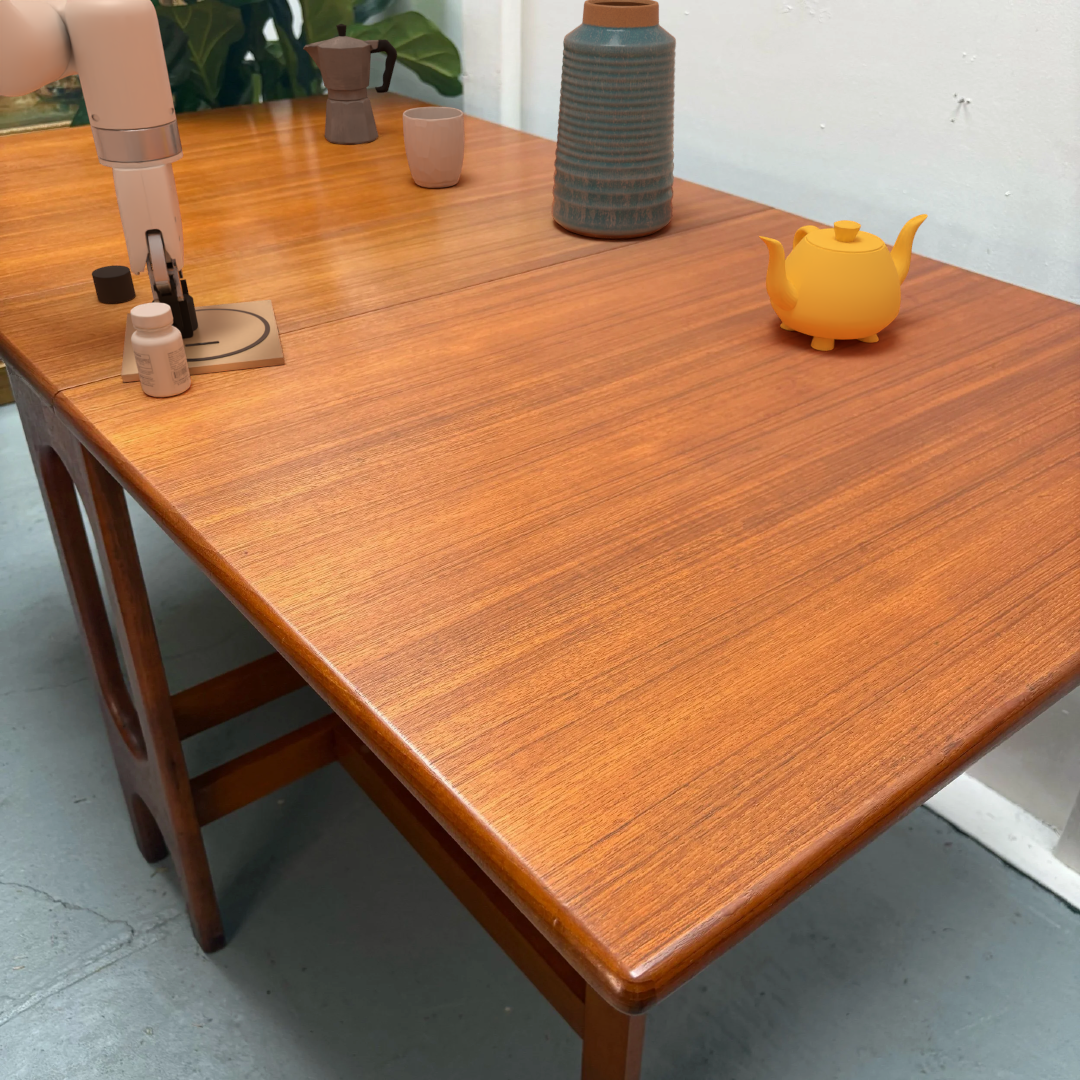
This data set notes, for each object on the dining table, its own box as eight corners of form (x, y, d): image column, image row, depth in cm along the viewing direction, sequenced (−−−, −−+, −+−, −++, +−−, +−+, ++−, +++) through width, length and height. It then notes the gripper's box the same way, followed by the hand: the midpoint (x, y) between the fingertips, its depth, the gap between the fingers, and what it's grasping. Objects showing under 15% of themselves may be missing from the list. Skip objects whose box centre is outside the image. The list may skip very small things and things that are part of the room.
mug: (475, 186, 153) (473, 115, 147) (419, 193, 149) (414, 121, 144) (443, 167, 162) (440, 99, 156) (390, 173, 159) (385, 104, 153)
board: (122, 382, 96) (120, 372, 95) (128, 320, 109) (126, 310, 108) (284, 364, 100) (283, 354, 99) (272, 306, 112) (270, 296, 112)
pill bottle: (191, 375, 97) (175, 297, 93) (192, 395, 94) (176, 315, 90) (142, 381, 96) (124, 302, 92) (142, 401, 93) (123, 320, 88)
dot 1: (97, 305, 112) (90, 279, 111) (99, 292, 115) (92, 267, 114) (135, 301, 113) (129, 275, 111) (136, 289, 116) (130, 263, 115)
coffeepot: (310, 145, 173) (297, 28, 163) (316, 132, 181) (303, 20, 171) (401, 144, 174) (394, 27, 164) (403, 131, 182) (395, 19, 172)
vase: (545, 239, 132) (547, 8, 117) (557, 203, 146) (560, -8, 131) (671, 244, 131) (689, 11, 116) (672, 208, 144) (688, -5, 129)
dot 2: (157, 337, 103) (151, 309, 101) (158, 323, 106) (152, 295, 104) (198, 333, 104) (193, 305, 102) (198, 319, 107) (192, 291, 105)
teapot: (857, 293, 117) (876, 191, 110) (946, 341, 105) (973, 230, 99) (705, 317, 110) (716, 210, 104) (782, 371, 99) (800, 255, 92)
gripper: (100, 125, 100) (141, 303, 110) (89, 167, 87) (136, 365, 97) (180, 120, 102) (212, 295, 112) (180, 161, 89) (218, 356, 99)
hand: (177, 326), depth 104 cm, fingers open, 4 cm apart
